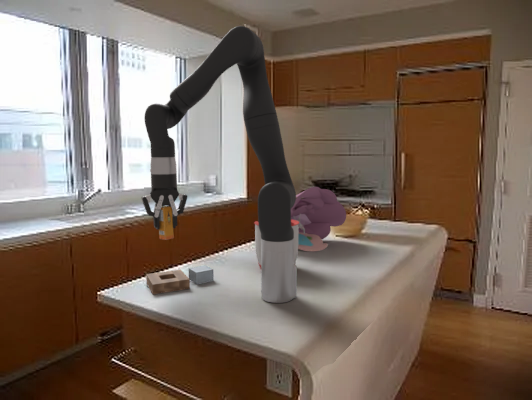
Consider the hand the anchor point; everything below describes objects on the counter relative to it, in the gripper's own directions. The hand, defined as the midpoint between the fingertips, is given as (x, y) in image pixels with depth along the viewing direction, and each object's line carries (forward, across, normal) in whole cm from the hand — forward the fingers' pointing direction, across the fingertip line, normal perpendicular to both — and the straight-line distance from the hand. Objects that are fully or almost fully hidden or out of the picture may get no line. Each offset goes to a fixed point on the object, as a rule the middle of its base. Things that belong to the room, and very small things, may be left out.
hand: (165, 228), depth 123 cm
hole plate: (+18, 0, 0) cm, 18 cm away
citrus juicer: (+19, +38, +1) cm, 42 cm away
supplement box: (+3, 0, 0) cm, 3 cm away
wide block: (+19, +11, +1) cm, 22 cm away
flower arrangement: (+19, +65, +25) cm, 72 cm away
